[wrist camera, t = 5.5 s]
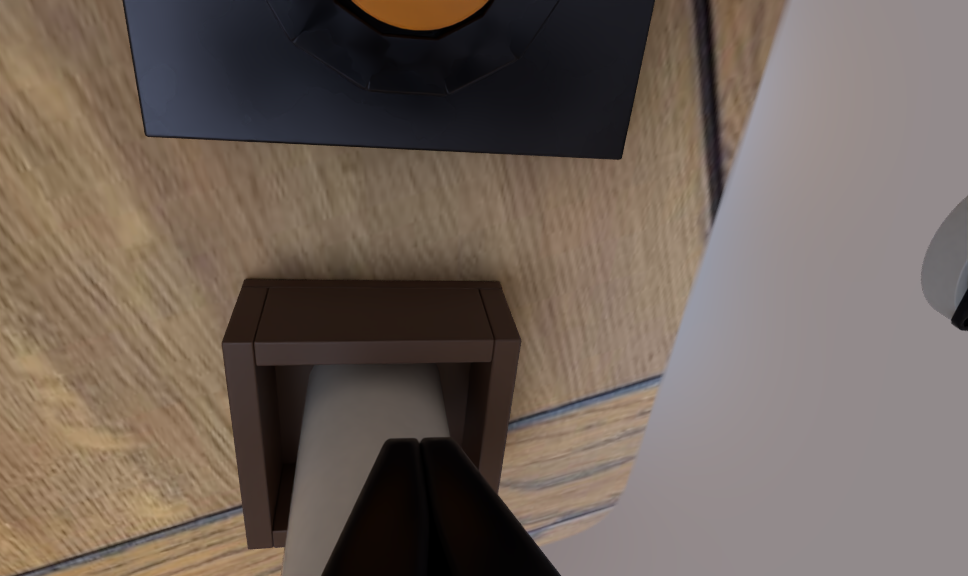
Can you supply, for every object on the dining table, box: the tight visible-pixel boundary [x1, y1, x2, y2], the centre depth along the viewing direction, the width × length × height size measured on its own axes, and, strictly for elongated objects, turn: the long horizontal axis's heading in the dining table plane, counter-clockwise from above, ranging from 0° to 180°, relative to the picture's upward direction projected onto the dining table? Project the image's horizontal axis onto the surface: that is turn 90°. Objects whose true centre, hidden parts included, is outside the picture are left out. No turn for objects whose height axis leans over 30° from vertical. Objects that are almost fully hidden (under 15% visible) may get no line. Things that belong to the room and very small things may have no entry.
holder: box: [222, 279, 521, 549], centre depth 20 cm, size 8×8×4 cm
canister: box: [281, 363, 451, 576], centre depth 17 cm, size 5×5×9 cm
